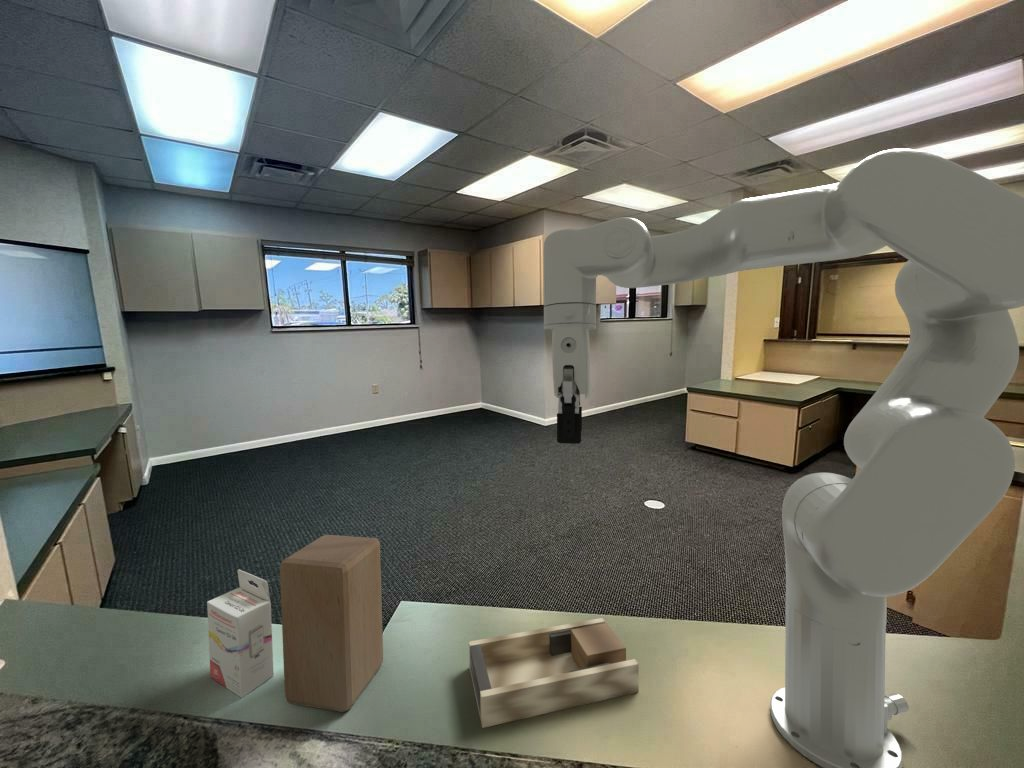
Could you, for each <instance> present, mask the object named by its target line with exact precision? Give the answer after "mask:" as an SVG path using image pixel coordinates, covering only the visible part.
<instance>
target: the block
mask: <svg viewBox="0 0 1024 768" xmlns="http://www.w3.org/2000/svg"><path fill="white" fill-rule="evenodd" d="M381 566H382V565H381V542H380V540H379V538H376V537H362V536H350V535H338V534H337V535H335V534H324V535H322V536H320V537H319V538H317V539H315V540H313V541H312V542H310V543H308V544H307V545H305V546H303V547H302V548H300V549H299V550H297V551H296V552H294V553H293V554H291V555H288V557H286V558H284V559H283V560H282V562H281V563H280V566H279V579H280V580H279V581H280V601H281V602H280V603H281V607H280V608H281V630H282V631H281V632H282V654H283V656H282V657H283V683H284V684H283V685H284V698H285V700H286V702H288V703H289V704H294V705H298V706H306V707H311V708H318V709H323V710H328V711H336V712H341V713H344V712H348V710H350V709H351V708H352V707H353V705H354V704H355V703H356V701H357V700H358V699H359V697H360V696H361V694H362V693H363V692H364V690H365V689H366V687H367V686H368V685H369V684H370V682H371V681H372V679H373V678H374V676H375V675H376V674H377V672H378V671H379V670H380V668H381V667H382V664H383V662H384V639H383V638H384V636H383V635H384V634H383V611H382V610H383V608H382V607H383V606H382V604H383V603H382V579H381V578H382V573H381V572H382V571H381V568H382V567H381Z"/></svg>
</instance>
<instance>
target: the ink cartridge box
mask: <svg viewBox="0 0 1024 768" xmlns="http://www.w3.org/2000/svg"><path fill="white" fill-rule="evenodd" d="M237 576H238V577H237V579H238V583H239V587H237V588H235V589H232V590H229V591H228V592H226V593H223V594H221V595H218V596H216V597H214V598H213V599H210V600H208V601H206V606H207V607H206V608H207V624H208V625H207V626H208V627H207V630H208V650H209V651H208V652H209V670H210V671H209V672H210V678H211V679H212V680H215V681H216V682H218V683H219V684H220V685H222V686H224V688H227V689H228V690H229V691H230V692H232V693H234V694H235V695H237V696H238V697H239V698H243V697H245V696H247V695H248V694H250V693H251V692H252V691H254V690H256V689H257V688H258V687H260V686H261V685H263V684H264V683H266V682H267V681H268V680H270V679H271V678H272V677H274V674H275V673H274V652H273V628H272V627H273V626H272V623H273V622H272V604H271V603H272V602H271V598H270V591H269V584H268V583H269V582H268V581H267V580H266V579H263V578H261V577H259V576H256V575H254V574H251V573H249V572H247V571H243V570H242V569H241V568H240V569H237ZM251 581H252V582H253V583H254V584H256V585H257V587H256V586H255V585H253V584H251V583H249V582H251Z"/></svg>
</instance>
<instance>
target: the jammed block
mask: <svg viewBox="0 0 1024 768" xmlns="http://www.w3.org/2000/svg"><path fill="white" fill-rule="evenodd" d="M571 655H572V657H573V659H574V660H575V662H576V664H577V666H578V667H579V669H581V668H586V667H590V666H595V665H600V664H605V663H610V664H613V663H618V662H622V661H627V648H626V646H625V645H624V643H623V642H622V641H621V639H620V638H619V637H618V636H617V634H616V633H615V632H614V631H613V630H612V628H611V627H610V626H609V624H608V623H606V622H605V624H599V625H594V626H588V627H583V628H577V629H572V630H571Z"/></svg>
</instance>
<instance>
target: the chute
mask: <svg viewBox="0 0 1024 768" xmlns="http://www.w3.org/2000/svg"><path fill="white" fill-rule="evenodd" d="M605 623H606V621H605V619H604V618H603V617H599V618H594V619H588V620H587V619H586V620H583V621H576V622H572V623H566V624H560V625H554V626H548V627H543V628H537V629H531V630H527V631H522V632H521V631H520V632H516V633H509V634H504V635H498V636H493V637H487V638H481V639H476V640H471V641H468V655H469V657H468V658H469V659H468V661H469V671H470V676H471V681H472V685H473V690H474V691H473V692H474V696H475V700H476V705H477V710H478V715H479V718H480V725H481V728H482V729H484V728H488V727H493V726H496V725H497V726H498V725H501V724H506V723H510V722H515V721H519V720H523V719H524V720H525V719H528V718H532V717H536V716H540V715H544V714H548V713H553V712H558V711H562V710H566V709H570V708H574V707H579V706H583V705H587V704H588V705H589V704H591V703H596V702H601V701H605V700H609V699H613V698H614V699H615V698H618V697H622V696H627V695H631V694H635V693H639V690H640V689H639V685H640V684H639V682H640V681H639V677H640V676H639V662H638V661H637V660H636V659H635V658H632V659H629V660H627V659H626V661H622V662H618V663H613V664H610V663H605V664H600V665H595V666H590V667H586V668H581V669H579V667H578V666H577V664H576V662H575V660H574V659H573V657H572V655H571V630H572V629H577V628H583V627H588V626H594V625H599V624H605Z"/></svg>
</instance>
